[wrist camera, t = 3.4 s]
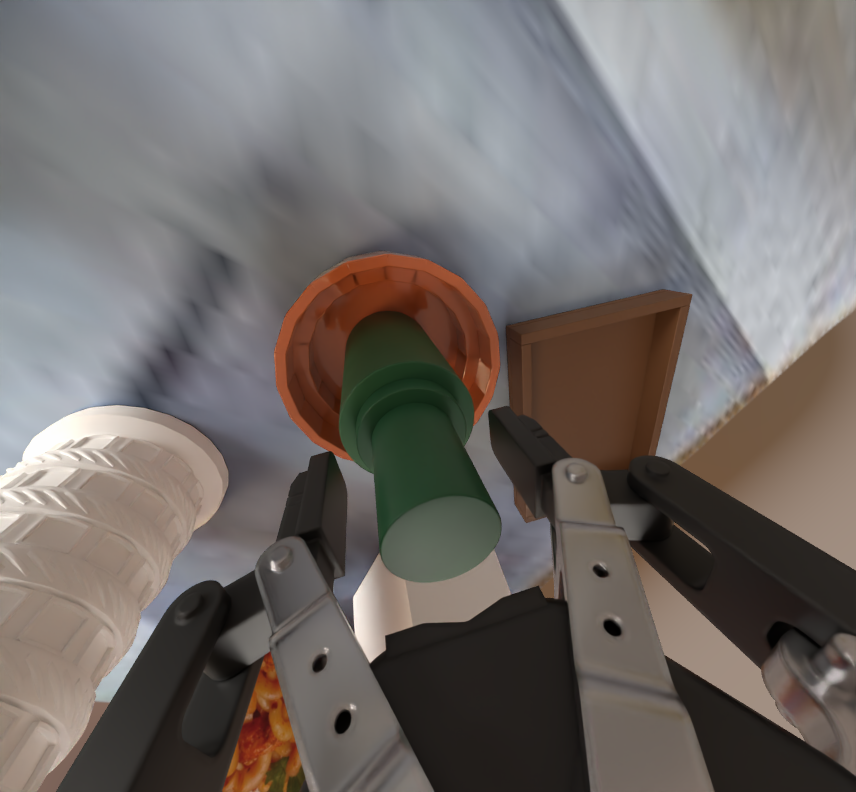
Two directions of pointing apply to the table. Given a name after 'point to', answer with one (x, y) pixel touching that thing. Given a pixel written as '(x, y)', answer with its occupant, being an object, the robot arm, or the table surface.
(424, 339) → the bottle
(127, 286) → the table surface
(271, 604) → the robot arm
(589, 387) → the tray
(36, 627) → the decorative container
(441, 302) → the bowl
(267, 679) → the pasta box
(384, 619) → the milk
